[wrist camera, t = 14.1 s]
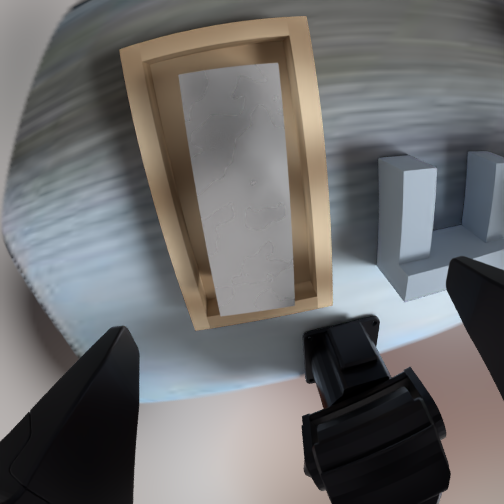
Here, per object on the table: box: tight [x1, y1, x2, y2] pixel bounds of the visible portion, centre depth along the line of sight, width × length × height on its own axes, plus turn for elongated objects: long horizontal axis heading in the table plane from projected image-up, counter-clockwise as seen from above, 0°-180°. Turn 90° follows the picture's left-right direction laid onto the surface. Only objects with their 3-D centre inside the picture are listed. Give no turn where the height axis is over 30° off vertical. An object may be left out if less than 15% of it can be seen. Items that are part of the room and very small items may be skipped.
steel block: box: [178, 63, 295, 316], centre depth 16 cm, size 12×4×4 cm, turn 6°
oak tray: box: [119, 16, 333, 331], centre depth 17 cm, size 17×9×3 cm, turn 9°
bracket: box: [377, 151, 504, 302], centre depth 18 cm, size 8×10×4 cm
